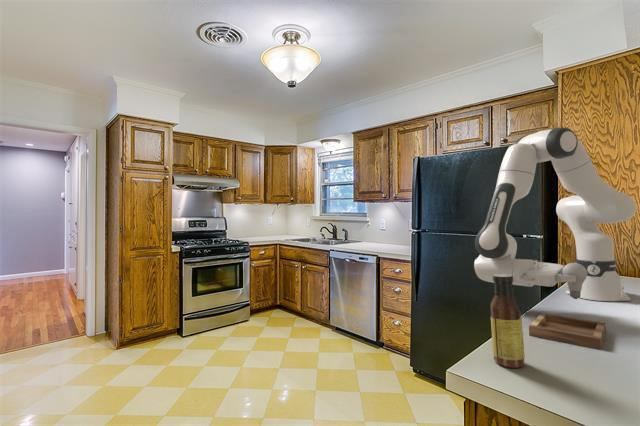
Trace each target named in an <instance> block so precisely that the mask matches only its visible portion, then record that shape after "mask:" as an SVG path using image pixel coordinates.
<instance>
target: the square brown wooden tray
mask: <svg viewBox="0 0 640 426" xmlns="http://www.w3.org/2000/svg"><path fill="white" fill-rule="evenodd" d="M606 333H607V332H606V322H601V321H595V320H589V319H582V318H575V317H568V316H563V315H555V314H549V313H540V314H539V315H538V316H537V317H536V318H535V319H534V320H533V321H532V322H531V324H530V325H528V335H529V336H531V337H536V338H540V337H541V339H545V338H546V340H551V339H552V340H551V341H556V340H557V341H558V342H561V341H562V343H566V342H567V343H568V344H571V343H572V344H573V345H576V344H577V345H578V346H581V345H583V346H582V347H586V346H588V347H587V348H591V347H592V348H593V349H597V350H601V348H602V345H603V342H604V339H605V336H606ZM557 341H556V342H557ZM577 345H576V346H577Z"/></svg>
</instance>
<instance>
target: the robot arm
mask: <svg viewBox="0 0 640 426" xmlns="http://www.w3.org/2000/svg"><path fill="white" fill-rule="evenodd" d="M501 161H502V162H501V165H500V167H499V172H498V176H497V180H496V186H495V189H494V192H493V196H492V199H491V202H490V205H489V207H488V211H487V215H486V218H485V221H484V224H483V226H482V227H481V228H480V230H479V231H478V232H477V234H476V236H475V239H474V247H475V249H476V251H477V252H478V254H479V255H478V257H476V258H475V259H474V263H473V269H474V272H475V275H476V276H477V278H479V280H482V281H484V282H488V283H494V281H493V275H494V274H509V275H512V276H513V283H512V285H513V286H522V287H533V286H540V287H541V286H542V287H550V288H551V287H555V286H556V285H557V284H558V283H567V282H576V281H577V276H575V275H563V273H562V270H563V268H564V266H565V265H563V264H559V263H553V262H544V261H541V262H540V261H539V260H537V259H525V258H523V259H522V258H516V256H517V251H518V250H517V249H518V243H517V240H516V238H515V237H513V236H512V235H511V234H509V233H507V230H506V229H507V224H508V222H509V217H510V214H511V210H512V208H513V205H514V204H515V203H516V202H517V201H518V200H521V199H523V198H525V197H526V196H527V195H529V193H530V191H531V188H532V186H533V183H534V179H535V174H536V170H537V169H536V168H537V165H538V163H544V162H548V161H551V164H552V166H553V169H554V171H555V172H556V175H557V178H558V179H559V181H560V183H561V186H562V187H563V189H564V190H566V191H568V192H570V193H572V194H575V195H571V196H567V197H563V198H561V199H560V200H559V201H558V202H557V204H556V208H555V212H556V215H557V217H558V218H559V219H560V220H561V221H563V222H564V223H565V224H566V225H567V227H568V228H569V229H570V230H571V232H572V234H573V238H574V240H575V250H576V253H575V254H576V258H575V262H574V263H578V264H581V265H582V266H584V267H585V269H586V270H587V277H586V279H585V281H584V282H583V284H582V290H581V297H580V298H579V299H584V300H590V301H597V302H599V301H600V302H619V301H622V302H623V301H624V302H625V301H627V302H628V301H630V302H631V297H630V296H629V295H628V294H627V293H626V292H625V291H624V288H625V287H624V286H623V279H622V278H623V277H622V276H621V275H620V274H619V273H617V262H616V260H615V252H614V251H615V245H614V240H613V238H612V237H611V236H610V235H608V234H606V233H604V232H603V231H602V230H601V229H600V227H599V226H598V224H616V223H618V224H619V223H623V222H627V221H630V220H632V218H633V217H634V216H635V215H636V212H637V204H636V201H635V200H634V198H633V197H631V196H630V195H628V194H626V193H624V192H622V191H619V190H617V189H615V188H614V187H612V186H611V185H610V184H608V183H607V182H605V180H603V178H602V177H601V176H600V174H599V173H598V171H597V169H596V168H595V165H594V163H593V162H592V159H591V157H590V155H589V154H588V152H587V149H586V148H585V146H584V145H583V143H582V142H581V141H580V139H579V138H578V137H577V134H576V133H575V132H574V131H573V130H572V129H571V128H568V127H556V128H555V127H554V128H552V129H551V128H550V129H543V130H540V131H537V132H534V133H531V134H529V135H523V136H521V137H519V138H518V139H516V140H515V141H514V143H513V144H512V145H510V146H508V148H507V150H506V151H505V154H504V155H503V159H502V160H501ZM565 294H566V295H570V290H569V289H568V290H567V289H566V290H565Z"/></svg>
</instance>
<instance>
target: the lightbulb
mask: <svg viewBox="0 0 640 426" xmlns="http://www.w3.org/2000/svg"><path fill="white" fill-rule="evenodd" d="M563 266H564V268H563V270H562V273H563V275H575V276H577V281H576V282H566V283H567V286H568V290H570V294H569V296H570V297H571V298H572V299H575V300H578V299H581V298H580V297H581V290H582V284H583V282H584V281H585V279H586V277H587V270H586V269H585V267H584V266H582V265H581V264H578V263H575V262H569V263H567V264H566V265H563Z"/></svg>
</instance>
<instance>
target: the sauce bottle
mask: <svg viewBox="0 0 640 426" xmlns="http://www.w3.org/2000/svg"><path fill="white" fill-rule="evenodd" d="M493 281H494V284H493V285H494V291H493V292H494V295H493V298H492V299H491V301H490V305H489V307H490V329H491V339H492V341H491V343H492V354H493V360H494V361H495V363H497V364H498V365H500V366H502V367H505V368H510V369H511V368H513V369H517V368H521V367H524V365H525V356H526V355H525V345H524V332H523V321H522V319H523V318H522V312H521V308H520V306H519V304H518V302H517V298H516V296H515V294H514V285H513V284H512V283H513V276H512V275H509V274H494V275H493Z"/></svg>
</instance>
